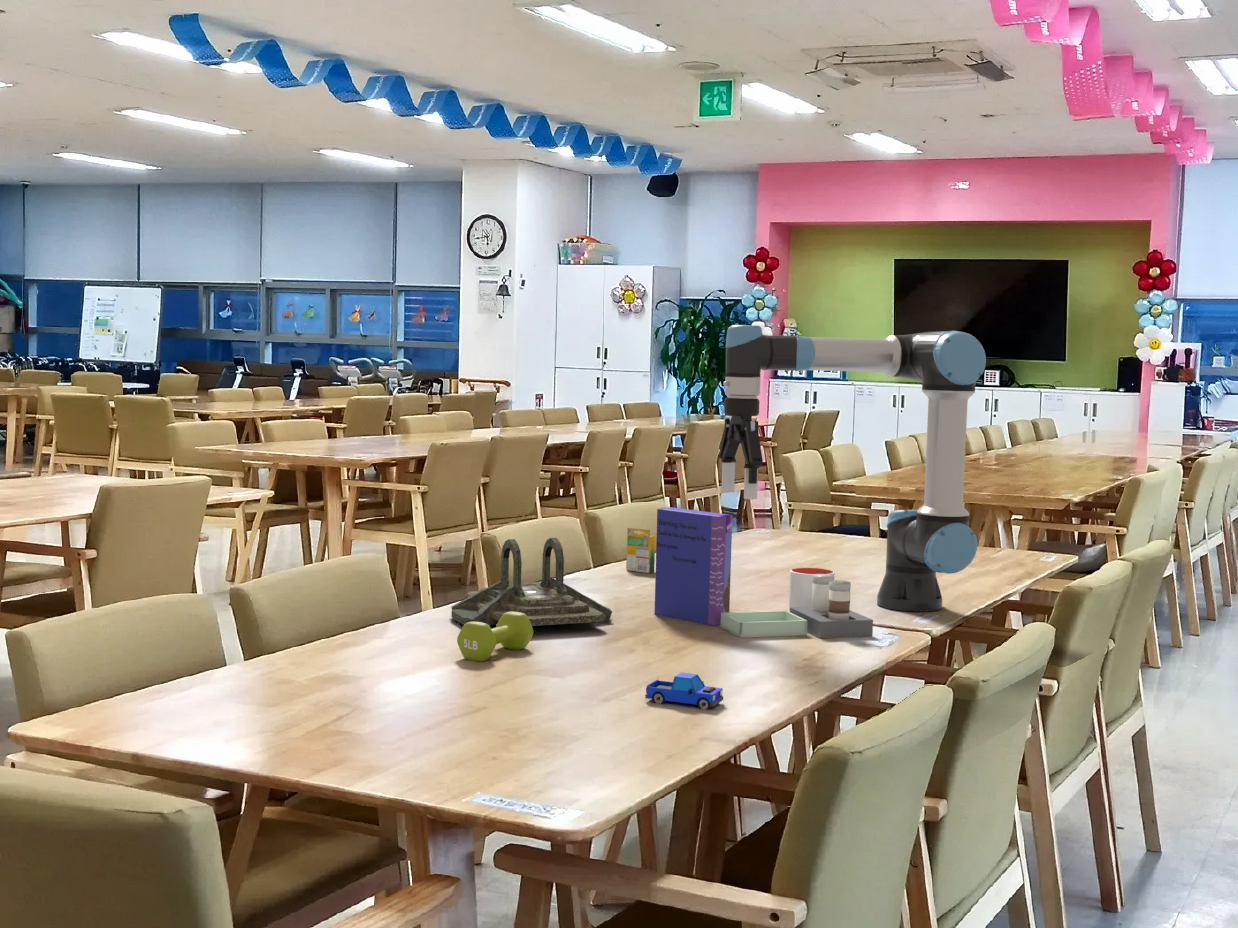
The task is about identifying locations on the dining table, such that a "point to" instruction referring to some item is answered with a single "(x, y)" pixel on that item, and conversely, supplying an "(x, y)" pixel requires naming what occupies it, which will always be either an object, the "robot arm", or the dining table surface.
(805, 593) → the cup
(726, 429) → the robot arm
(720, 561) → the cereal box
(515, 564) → the metal base with loops
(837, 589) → the cylinder
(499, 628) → the dumbbell
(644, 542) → the crayon box
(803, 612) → the fuse holder block
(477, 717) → the dining table surface
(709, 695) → the toy car
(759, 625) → the parts tray
